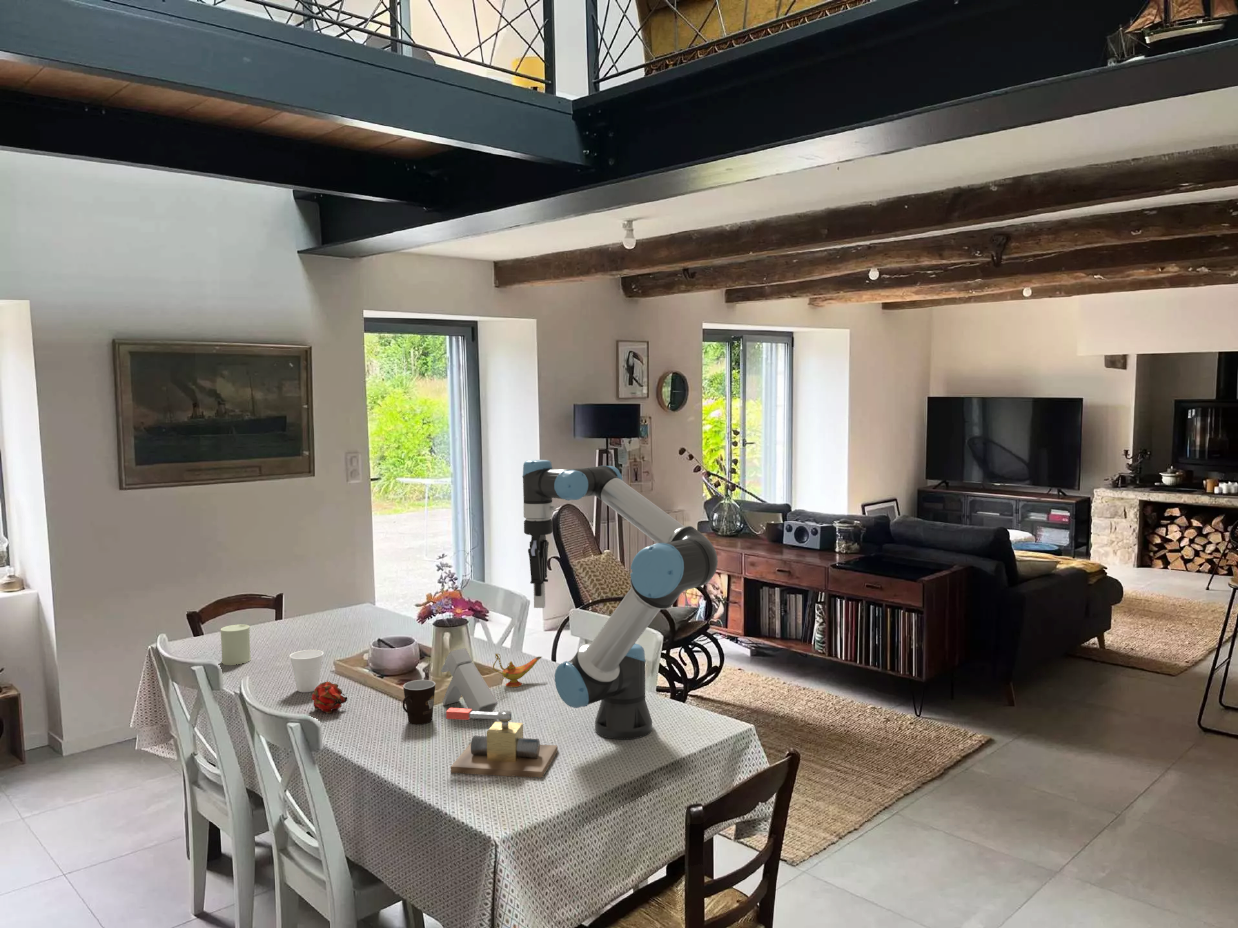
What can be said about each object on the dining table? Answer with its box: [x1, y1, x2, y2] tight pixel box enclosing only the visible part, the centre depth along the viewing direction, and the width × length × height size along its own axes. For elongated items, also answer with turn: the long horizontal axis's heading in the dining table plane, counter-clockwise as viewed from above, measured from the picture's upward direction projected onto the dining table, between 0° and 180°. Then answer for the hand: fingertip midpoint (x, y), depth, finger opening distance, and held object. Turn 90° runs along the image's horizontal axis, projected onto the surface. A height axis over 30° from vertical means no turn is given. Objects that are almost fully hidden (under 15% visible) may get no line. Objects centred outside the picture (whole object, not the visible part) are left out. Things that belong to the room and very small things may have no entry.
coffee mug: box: [402, 679, 436, 726], centre depth 248 cm, size 12×9×10 cm
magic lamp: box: [492, 653, 543, 688], centre depth 280 cm, size 7×18×11 cm, turn 130°
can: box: [220, 623, 252, 666], centre depth 307 cm, size 9×9×12 cm
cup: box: [288, 649, 325, 693], centre depth 276 cm, size 10×10×11 cm
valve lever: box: [445, 707, 513, 722], centre depth 221 cm, size 16×3×2 cm, turn 80°
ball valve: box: [470, 721, 541, 762], centre depth 220 cm, size 16×7×9 cm, turn 81°
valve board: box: [450, 742, 558, 779], centre depth 220 cm, size 22×16×2 cm
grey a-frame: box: [440, 647, 499, 720], centre depth 258 cm, size 6×16×20 cm
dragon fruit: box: [310, 681, 348, 714], centre depth 258 cm, size 8×8×12 cm
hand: (539, 607), depth 241 cm, fingers closed
